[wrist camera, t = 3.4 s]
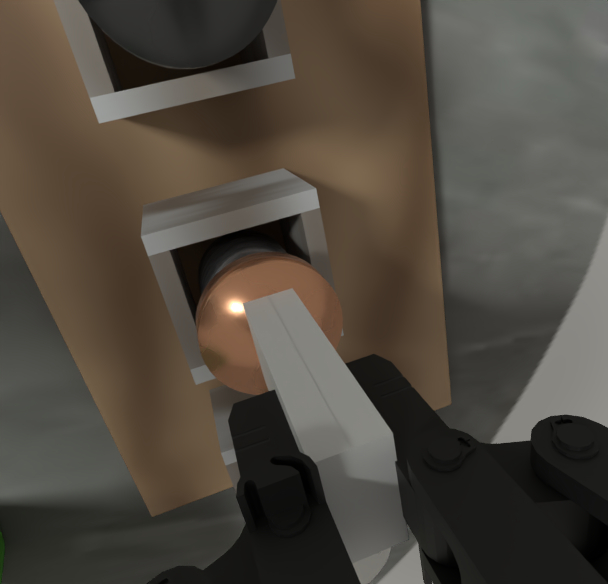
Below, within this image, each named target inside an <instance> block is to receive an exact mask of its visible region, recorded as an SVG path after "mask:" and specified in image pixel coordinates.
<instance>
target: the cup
mask: <svg viewBox="0 0 608 584" xmlns="http://www.w3.org/2000/svg"><path fill="white" fill-rule="evenodd" d="M4 554H5V544H4V539H3V537H2V533H1V531H0V584H1V581H2V572H3V563H4Z"/></svg>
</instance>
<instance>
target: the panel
mask: <svg viewBox="0 0 608 584" xmlns="http://www.w3.org/2000/svg"><path fill="white" fill-rule="evenodd" d="M0 211H1V213H2V215H3V217H4V219H5V221H6V223H7V225H8V227H9V229H10V232H11V234H12V236H13V238H14V240H15V242H16V244H17V246H18V248H19V250H20V252H21V254H22V256H23V258H24V260H25V262H26V264H27V266H28V268H29V270H30V272H31V274H32V276H33V278H34V280H35V282H36V284H37V286H38V288H39V290H40V292H41V294H42V296H43V298H44V300H45V302H46V304H47V306H48V308H49V310H50V312H51V314H52V316H53V318H54V320H55V322H56V324H57V326H58V328H59V330H60V332H61V334H62V336H63V338H64V341H65V343H66V345H67V347H68V349H69V351H70V353H71V355H72V357H73V359H74V361H75V363H76V365H77V367H78V369H79V371H80V373H81V375H82V377H83V379H84V381H85V383H86V385H87V387H88V389H89V391H90V393H91V395H92V397H93V399H94V401H95V403H96V405H97V407H98V409H99V411H100V413H101V415H102V417H103V419H104V421H105V423H106V425H107V427H108V429H109V431H110V433H111V435H112V437H113V439H114V441H115V443H116V445H117V447H118V450H119V452H120V454H121V456H122V458H123V460H124V462H125V464H126V466H127V468H128V470H129V472H130V474H131V476H132V478H133V480H134V482H135V484H136V486H137V488H138V490H139V492H140V494H141V496H142V498H143V500H144V502H145V504H146V506H147V508H148V510H149V512H150V514H151V516H152V517H154V516H157V515H159V514H162V513H165V512H167V511H170V510H172V509H175V508H178V507H180V506H183V505H186V504H188V503H191V502H194V501H196V500H199V499H202V498H204V497H207V496H210V495H212V494H215V493H218V492H220V491H223V490H225V489H228V488H231V487H234V490H235V492H236V493H237V483H238V481H239V479H240V473H239V468H238V464H237V459H236V455H235V450H234V446H233V441H232V437H231V432H230V428H229V423H228V419H229V416H230V413H231V410H232V407H233V404H234V403H237V402H239V401H242V400H245V399H248V398H251V397H254V396H257V395H253V394H247V393H243V392H239V391H236V390H234V389H232V388H230V387H228V386H226V385H225V384H223V383H222V382H220V381H219V380H218V379H217V378H216V377H215V376H214V375H213V374H212V373H211V372H210V371H209V369H208V367H207V366H206V364H205V362H204V360H203V358H202V356H201V352H200V348H199V343H198V337H197V332H196V311H197V306H198V303H199V300H200V297H201V291H200V287H199V283H198V269H199V264H200V261H201V258H202V256H203V254H204V253H205V251H206V250H207V248H208V247H209V246H210V245H211V244H212V243H213V242H214V241H215V240H217V239H218V238H220V237H221V236H223V235H225V234H229V233H232V232H236V231H239V230H255V231H259V232H263V233H265V234H267V235H269V236H271V237H272V238H274V239H275V240H276V241H277V242H278V243H279V244H280V245H281V246H282V248H283V249H284V250H285V251H286V253H287V254H290V255H294V256H296V257H299V258H301V259H303V260H305V261H306V262H308V263H309V264H311V265H312V266H313V267H314V268H315V269H316V270H317V271H318V272H319V273H320V274H321V275H322V276H323V277H324V279H325V280H326V281H327V282H328V283H329V284H330V285H331V287H332V288H333V290H334V291H335V293H336V294H337V297H338V299H339V301H340V305H341V308H342V315H343V328H342V334H341V338H340V341H339V344H338V346H337V349H336V352H337V353H338V355H339V356H340V357H341V359H342V360H343V362H344V363H348V362H351V361H354V360H357V359H360V358H363V357H366V356H369V355H372V354H376V355H378V356H380V357H382V358H384V359H387V360H389V361H391V362H392V363H393V364H394V365H395V367H396V368H397V369H398V370H399V371H400V372H401V373H402V375H403V377H405V378H406V379H407V380H408V382H409V383H410V384H411V386H412V388H413V387H414V388H415V390H416V391H417V392H418V393H419V394H420V395H421V397H422V398H423V399H424V400H425V401H426V402H427V403H428V405H429V406H430V407H431V408H432V409H433V410H434V411H435V410H438V409H440V408H443V407H445V406H448V405H451V404H452V403H451V390H450V377H449V364H448V352H447V339H446V326H445V313H444V300H443V287H442V274H441V261H440V248H439V236H438V223H437V210H436V197H435V184H434V171H433V158H432V145H431V132H430V120H429V107H428V94H427V81H426V68H425V55H424V42H423V29H422V16H421V3H420V0H277V3H276V5H275V8H274V10H273V12H272V14H271V16H270V18H269V20H268V21H267V23H266V24H265V26H264V27H263V29H262V30H261V32H260V33H259V34H258V35H257V36H256V37H255V39H254V40H253V41H252V42H250V43H249V44H248V45H247V46H246V47H245V48H244V49H242V50H241V51H239V52H238V53H236V54H235V55H233V56H232V57H229V58H227V59H225V60H223V61H221V62H218V63H216V64H212V65H209V66H206V67H201V68H194V69H175V68H167V67H163V66H159V65H156V64H152V63H150V62H147V61H145V60H143V59H140V58H138V57H136V56H135V55H133V54H131V53H129V52H128V51H126V50H125V49H123V48H122V47H121V46H119V45H118V44H117V43H115V42H114V41H113V40H112V39H111V38H110V37H109V36H107V35H106V34H105V33H104V32H103V31H102V30H101V29H100V27H99V26H98V25H97V24H96V23H95V22H94V21H93V19H92V18H91V17H90V16H89V15H88V14H87V12H86V11H85V10H84V8H83V7H82V5H81V4H80V2H79V1H78V0H0Z"/></svg>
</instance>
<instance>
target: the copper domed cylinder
mask: <svg viewBox="0 0 608 584" xmlns="http://www.w3.org/2000/svg"><path fill="white" fill-rule="evenodd" d="M198 283H199V287H200V291H201V297H200V300H199V303H198V306H197V311H196V332H197V337H198V343H199V348H200V352H201V356H202V358H203V360H204V362H205V364H206V366H207V367H208V369H209V371H210V372H211V373H212V374H213V375H214V376H215V377H216V378H217V379H218V380H219V381H220V382H222V383H223V384H225V385H226V386H228V387H230V388H232V389H234V390H236V391H239V392H243V393H247V394H253V395H260V394H263V393H266V392H269V390H268V387H267V385H266V382H265V379H264V376H263V372H262V369H261V365H260V362H259V359H258V355H257V352H256V348H255V345H254V341H253V338H252V334H251V331H250V327H249V324H248V320H247V317H246V314H245V310H244V307H243V303H246V302H249V301H252V300H255V299H259V298H262V297H265V296H268V295H272V294H275V293H278V292H281V291H285V290H288V289H291V288H293V290H294V291H295V292H296V294H297V295H298V297H299V298H300V300H301V301H302V303H303V304H304V305H305V307H306V308H307V310H308V311H309V313H310V314H311V316H312V317H313V318H314V320H315V321H316V323H317V324H318V326H319V327H320V329H321V330H322V331H323V333H324V334H325V336H326V337H327V339H328V340H329V342H330V343H331V344H332V346H333V347H334V349H335V350H336V349H337V346H338V344H339V341H340V338H341V334H342V328H343V315H342V308H341V305H340V301H339V299H338V297H337V294H336V293H335V291H334V290H333V288H332V287H331V285H330V284H329V283H328V282H327V281H326V280H325V279H324V277H323V276H322V275H321V274H320V273H319V272H318V271H317V270H316V269H315V268H314V267H313V266H312V265H311V264H309V263H308V262H306V261H305V260H303V259H301V258H299V257H296V256H294V255H290V254H287V253H286V251H285V250H284V249H283V248H282V246H281V245H280V244H279V243H278V242H277V241H276V240H275V239H274V238H272V237H271V236H269V235H267V234H265V233H263V232H259V231H255V230H239V231H236V232H232V233H229V234H225V235H223V236H221V237H220V238H218V239H217V240H215V241H214V242H213V243H212V244H211V245H210V246H209V247H208V248H207V250H206V251H205V253H204V254H203V256H202V258H201V261H200V264H199V269H198Z"/></svg>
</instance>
